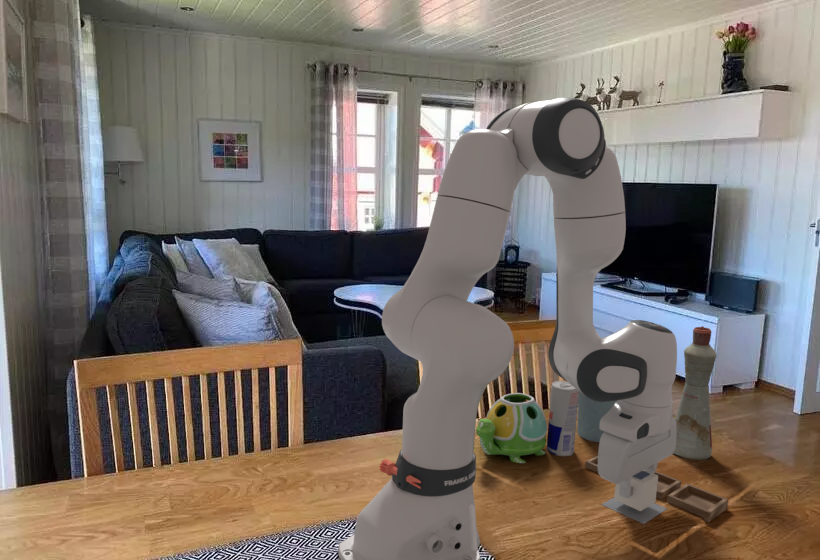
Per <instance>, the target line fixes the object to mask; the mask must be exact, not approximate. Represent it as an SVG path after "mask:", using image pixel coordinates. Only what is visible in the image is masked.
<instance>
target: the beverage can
mask: <svg viewBox="0 0 820 560" xmlns="http://www.w3.org/2000/svg"><path fill="white" fill-rule="evenodd" d="M578 395H579V390H577V389H576V388H575V387H573V386H572V385H571V384H570V383H569V382H568V381H566V380H557V381H553V382H551V387H550V399H549V409H548V410H549V411H548V422H547V435H546V451H547V452H548V453H549V454H552V455H554V456H559V457H570V456H572V455H573V454H575V453H574V452H575V443H576V442H575V440H576V433H577V431H576V430H577V420H578Z"/></svg>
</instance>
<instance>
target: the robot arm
mask: <svg viewBox="0 0 820 560" xmlns="http://www.w3.org/2000/svg"><path fill="white" fill-rule="evenodd" d="M605 137H606V136H605V130H604V126H603V123H602V119H601V118H600V115H599V113H598V111H597V110H596V109H595V108H594V107H593V106H592V105H591V104H590V103H589V102H587V101H585V100H582V99H580V98H574V97H557V98H554V99H550V100H549V99H548V100H536V101H534V100H533V101H531V102H527V103H523V104H521V105H519V106H516V107H511V108H507V109H505V110H503V111H502V112H500V113H499V114H498V115H496V116H495V117H494V118H493V119H492V120H491V121H490V122H489V124H488V125H487V127H486V128H477V129H472V130H468V131H467V132H465V133H463V134H462V135H461V136H460V137H459V138H458V140H457V141H456V142H455V144H454V147H453V149H452V151H451V154H450V155H449V158H448V161H447V163H446V165H445V169H444V171H443V175H442V177H441V180H440V184H439V188H438V192H437V195H436V199H435V205H434V208H433V213H432V216H431V220H430V225H429V227H428V233H427V236H426V239H425V242H424V246H423V249H422V251H421V253H420V256H419V258H418V260H417V262H416V264H415V266H414V267H413V269H412V271H411V274H410V275H409V277H408V279H407V280H406V281H405V283H404V285H403V286H402V287H401V288H400V289H399V290H398V291H397V292H395V293H394V294H392V295H391V297H390V298H388V300H387V302H386V303H385V305H384V307H383V310H382V312H381V313H382V315H381V326H382V330H383V332H384V334H385V336H386V337H387V338H388V339H389V340H390V342H391V343H392V344H393V345H394V346H395V347H396V348H397V349H398V350H399V351H400V352H402V353H403V354H405V355H407V356H409V357H411V358H413V359H415V360H416V361H419V362H420V363H421V366H422V374H421V378H420V379H421V380H420V383H419V387H418V389H417V391H416V392H414V393H413V394H411V395H410V396H409V397H408V398H407V400H406V401H405V403H404V405H403V409H402V410H403V412H402V413H403V416H402V434H401V436H402V437H401V438H402V440H401V441H402V443H401V449H400V451H399V454H398V456H397V458H396V461H395V462H392V461H391V460H390V459H388V458H385V459H382V460H381V462H380V463H379V466H378V467H379V471H380V472H381V473H385V474H386V475H387V476H391V478H390V479H389V481H388V482H387V483H386V484H384V486H383V487H382V488H381V490H380V491H379V492H378V493H376V495H375V496H374V497H373V498H372V499H371V501H370V502H369V503H368V504H367V505H365V507H364V508H363V509H361V511H360V512H359V514H358V516H357V519H356V522H355V528H354V534H352V535H351V536H349V537H347V538H346V539H344V540H343V541H341V542H340V543H339V545H338V550H337V553H338V557H339V559H340V560H481V554H480V551H479V548H478V547H480V536H479V531H478V528H477V517H476V515H477V514H476V504H475V496H474V485H473V484H474V483H475V481H476V474H477V473H476V472H477V457H476V453H474V452H475V451H474V449H475V438H476V437H475V436H476V427H477V426H476V425H477V423H476V422H477V415H478V414H477V413H478V409H479V405H480V403H481V402H480V401H481V400H482V396H483V394H484V392H485V390H486V389H487V387H488V385H489V384H490V383H491V382H493V381H495V380H496V379H498V378H499V377H500V376H502V374H504V372H505V371H506V370H507V368H508V367H509V365H510V362H511V360H512V358H513V354H514V350H515V341H514V336H513V331H512V330H511V327H510V326H509V325H508V323H507V322H506V321H505V320H503V319H502V318H501V317H500V316H498V315H497V314H495V313H494V312H492V311H491V310H490V309H488V308H486V307H485V306H484V305H481V304H478V303H474V302H471V301H468V300H469V296H470V295H471V293H472V291H473V289H474V287H475V286H476V284H477V283H478V281H479V280H480V279H481V278H482V277H483V275H485V274H486V273H488V272H491V270H493V269H494V268H495V267H496V265H497V264H498V263H499V260H500V257H501V254H502V253H501V251H502V248H503V245H504V239H505V235H506V232H507V231H506V230H507V226H508V223H509V218H510V215H511V214H510V213H511V212H512V211H511V210H512V207H513V202H514V197H515V196H514V195H515V191H516V188H517V187H518V185H519V183H520V181H521V179H522V178H523V177H524V176H525V175H527V176H528V175H529V176H534V177H545V179H546V180H547V182H548V183H549V186H550V189H551V191H552V200H553V202H552V210H553V211H552V212H553V226H554V227H553V228H554V239H555V249H556V250H555V251H556V274H555V275H556V280H555V282H556V283H555V284H556V289H555V293H556V294H555V295H556V297H555V298H556V311H555V312H556V319H555V327H554V331H553V334H552V337H551V341H550V343H549V346H548V352H547V353H548V355H547V358H548V362H549V365H550V367H551V369H552V371H553V372H554V373H555V374H556V375H557V376H558V377H560V378H561V379H563V381H567V382H569V383H570V384H571V385H572V386H573V387H575V388H576V389H577V390H579V391H580V392H581V393H582V394H583V395H585V396H586V397H588V398H589V399H591V400H594V401H598V402H609V401H616V400H617V402H615V403H614V405H613V407H612V408H611V409H610V410H609V411H608V412H607V413H606V414H605V415H604V416H603V417H602V418H601V420H600V425H599V428H600V430H602V431H604V433H603V434H602V436H601V438H600V442H598V443H599V444H598V451H597V452H598V453H597V456H598V476H600V478H601V479H603V480H606V481H608V482H610V483H612V484H615V485H616V484H619V486H620V488H619V495H620V496H622V497H624V498H629V497H631V496H632V495H633V488H634V487H632V486H631V484H630V481H631V480H632V476H633V475H635V474H637V473H639V472H641V471H643V470H646V471H648V472H651V473H653V474H654V473H655V471H657V469H658V465H659V462H661V461H663V460H665V459H667V458H668V457H670V456H672V455H674V450H675V447H676V420H675V418H676V417H673V416H674V410H673V404H674V399H673V394H672V388H673V384H674V382H675V380H676V374H677V367H678V366H677V363H678V345H677V338H676V336H675V334H674V332H673V331H672V330H671V329H670V328H668V327H665V326H663V325H661V324H658V323H654V322H652V321H649V320H648V321H647V320H642V319H635V320H634V319H633V320H630V321H629V322H628V323H627V324H626V325H625V326H624V327H622V328H620V329H619V330H617V331H616V332H614V333H611V334H610V335H608V336H605V337H601V336H600V335H599V333H598V332H597V330H596V328H595V326H594V320H593V319H594V317H593V315H594V283H595V279H596V276H597V275H598V273H600V272H601V270H602V269H605V268H606V267H609V265H611V264H612V263H613V262H615V260H617V258H618V257H619V256H620V255H621V254H622V251H623V250H624V245H625V238H626V230H627V227H626V225H627V224H626V222H627V221H626V219H627V218H626V207H625V206H626V205H625V194H624V188H623V187H624V186H623V179H622V176H621V171H620V166H619V162H618V159H617V156H616V154H615V153H614V151H613V150H612V149H610V147H607V146H606V145H607V144H606V139H605Z"/></svg>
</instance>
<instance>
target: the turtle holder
mask: <svg viewBox="0 0 820 560" xmlns="http://www.w3.org/2000/svg"><path fill="white" fill-rule="evenodd" d="M477 424H478V426H476V427H475V434H476V435H477V437H479V444H480V448H481V450H482V451H483V452H484V453H485V454H486V455H488V456H493V455H503V456H508V457H509V460H510V462H512V463H515V464H526V463H527V462H526V460H524V459H522V458H521V456H529V455H533V454H534V455H535V456H543V455H545V454H546V453H547V452H546V450H544V448H545V446H547V433H548V422H547V419H546V415H545V413H544V411H543V408H542V407H541V406H540V404H539V403H538V402H537V401H536V400H535V398H534V397H533V396H532V395H530V394H526V393H522V392H514V393H513V392H512V393H508V394H504V395H502V396H500V398H499V399H497V400H496V401H495V402H494V403H493V404H492V405H491V407H490V408H489V410H488V411H487V414H486V416H485V418H480V419H479V421H478V423H477Z"/></svg>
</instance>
